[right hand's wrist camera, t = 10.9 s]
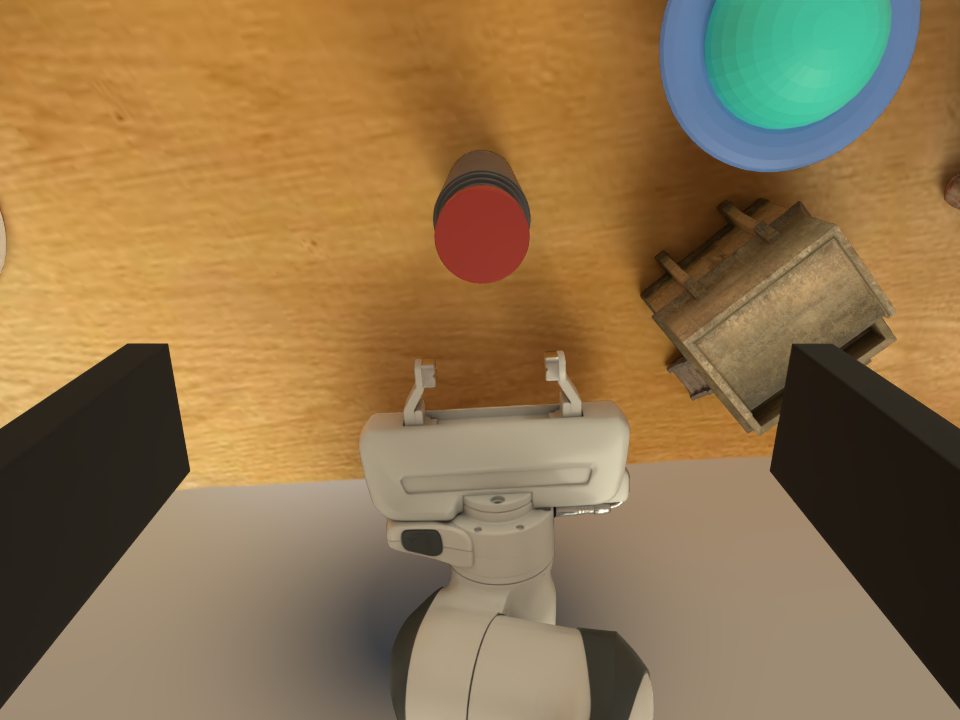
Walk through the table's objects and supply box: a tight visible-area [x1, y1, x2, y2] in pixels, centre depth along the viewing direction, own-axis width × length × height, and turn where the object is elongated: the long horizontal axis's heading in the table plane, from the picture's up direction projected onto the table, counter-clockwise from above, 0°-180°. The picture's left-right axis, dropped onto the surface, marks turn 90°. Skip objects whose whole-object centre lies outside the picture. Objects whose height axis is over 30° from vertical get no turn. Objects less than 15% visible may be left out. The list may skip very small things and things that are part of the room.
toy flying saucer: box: [659, 0, 921, 172], centre depth 41 cm, size 15×15×14 cm
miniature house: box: [640, 198, 897, 436], centre depth 48 cm, size 15×14×11 cm
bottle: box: [433, 150, 530, 230], centre depth 41 cm, size 5×5×21 cm
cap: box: [435, 185, 529, 284], centre depth 31 cm, size 4×4×2 cm
